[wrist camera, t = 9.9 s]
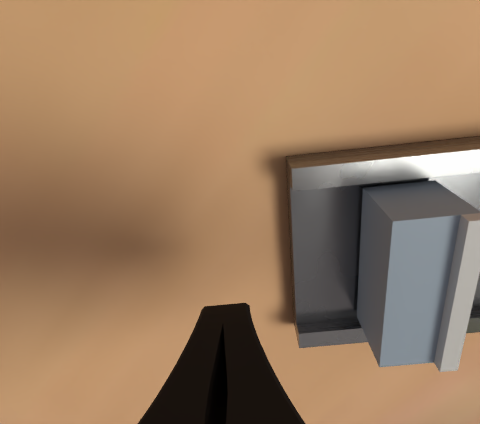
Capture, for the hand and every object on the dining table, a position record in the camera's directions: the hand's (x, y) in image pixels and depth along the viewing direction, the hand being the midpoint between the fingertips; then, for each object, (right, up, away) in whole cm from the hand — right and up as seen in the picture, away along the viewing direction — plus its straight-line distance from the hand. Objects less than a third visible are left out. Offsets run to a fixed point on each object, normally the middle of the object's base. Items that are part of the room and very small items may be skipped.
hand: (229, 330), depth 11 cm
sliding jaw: (+6, +2, +3) cm, 7 cm away
